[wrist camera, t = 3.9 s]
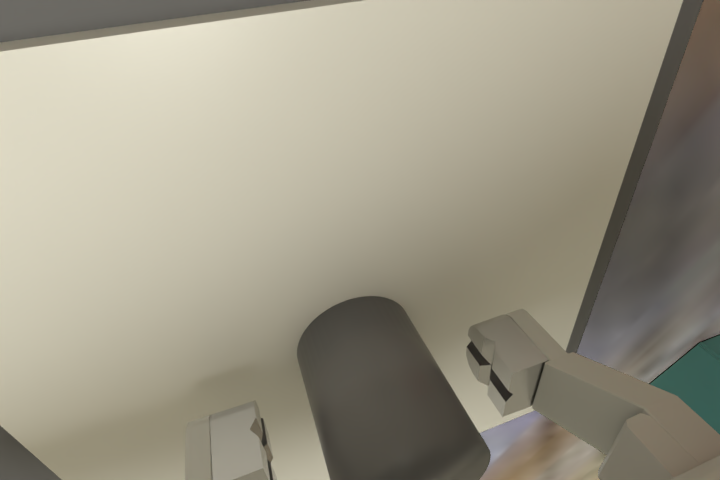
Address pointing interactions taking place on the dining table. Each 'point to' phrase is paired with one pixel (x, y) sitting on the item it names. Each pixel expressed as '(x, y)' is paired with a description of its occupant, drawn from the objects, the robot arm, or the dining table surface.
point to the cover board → (303, 222)
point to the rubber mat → (156, 3)
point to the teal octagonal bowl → (697, 381)
